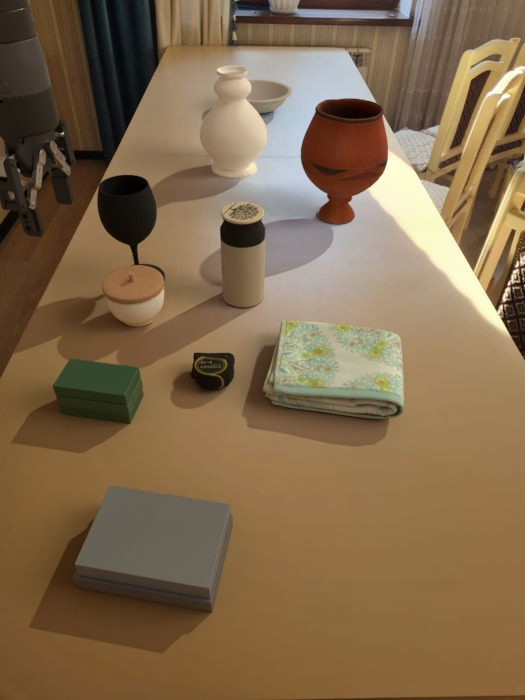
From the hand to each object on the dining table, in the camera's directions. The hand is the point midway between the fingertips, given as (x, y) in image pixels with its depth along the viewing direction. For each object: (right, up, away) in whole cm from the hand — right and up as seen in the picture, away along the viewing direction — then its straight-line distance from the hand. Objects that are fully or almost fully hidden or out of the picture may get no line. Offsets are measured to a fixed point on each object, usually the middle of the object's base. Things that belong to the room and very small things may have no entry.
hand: (51, 218), depth 70 cm
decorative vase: (+19, +33, +80) cm, 88 cm away
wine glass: (+2, -3, +39) cm, 40 cm away
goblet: (+45, +15, +60) cm, 77 cm away
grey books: (+15, -42, -4) cm, 44 cm away
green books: (+3, -25, +14) cm, 29 cm away
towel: (+39, -21, +19) cm, 49 cm away
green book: (+3, -22, +11) cm, 25 cm away
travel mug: (+24, -7, +35) cm, 43 cm away
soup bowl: (+25, +65, +116) cm, 135 cm away
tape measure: (+19, -21, +19) cm, 34 cm away
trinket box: (+4, -11, +30) cm, 33 cm away
